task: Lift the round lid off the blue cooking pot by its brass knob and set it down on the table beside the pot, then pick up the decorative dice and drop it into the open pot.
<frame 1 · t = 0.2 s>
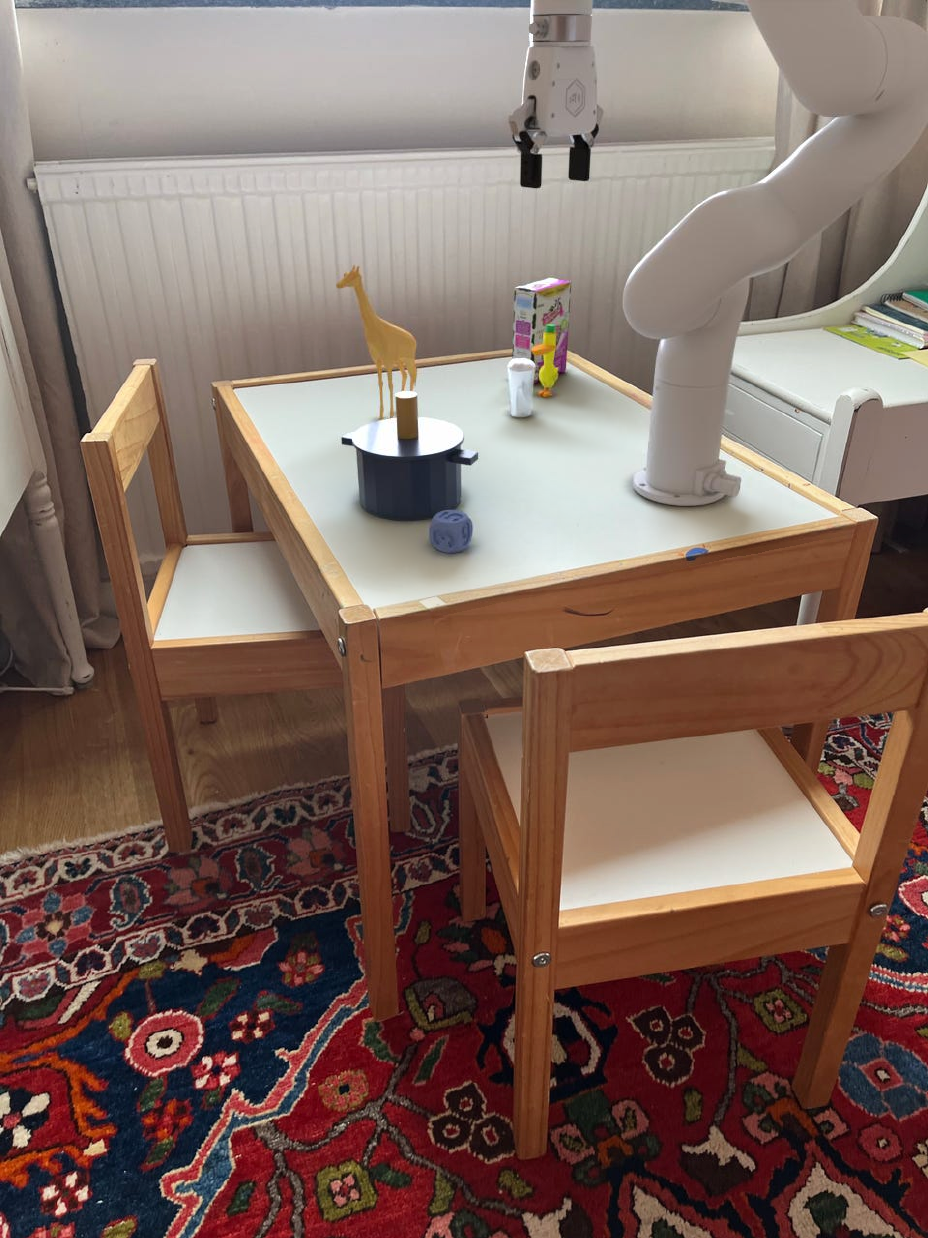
hand: (555, 183, 128), 37 cm above the table, tool pointing down, fingers open, 9 cm apart
milkshake: (522, 415, 160), on the table
toy figure: (544, 396, 168), on the table
decorative dice: (451, 547, 118), on the table
tin lid: (408, 439, 126), point 8 cm above the table, touching blue cooking pot
blue cooking pot: (410, 499, 130), on the table
giraffe: (384, 422, 157), on the table
candy bar box: (539, 376, 178), on the table
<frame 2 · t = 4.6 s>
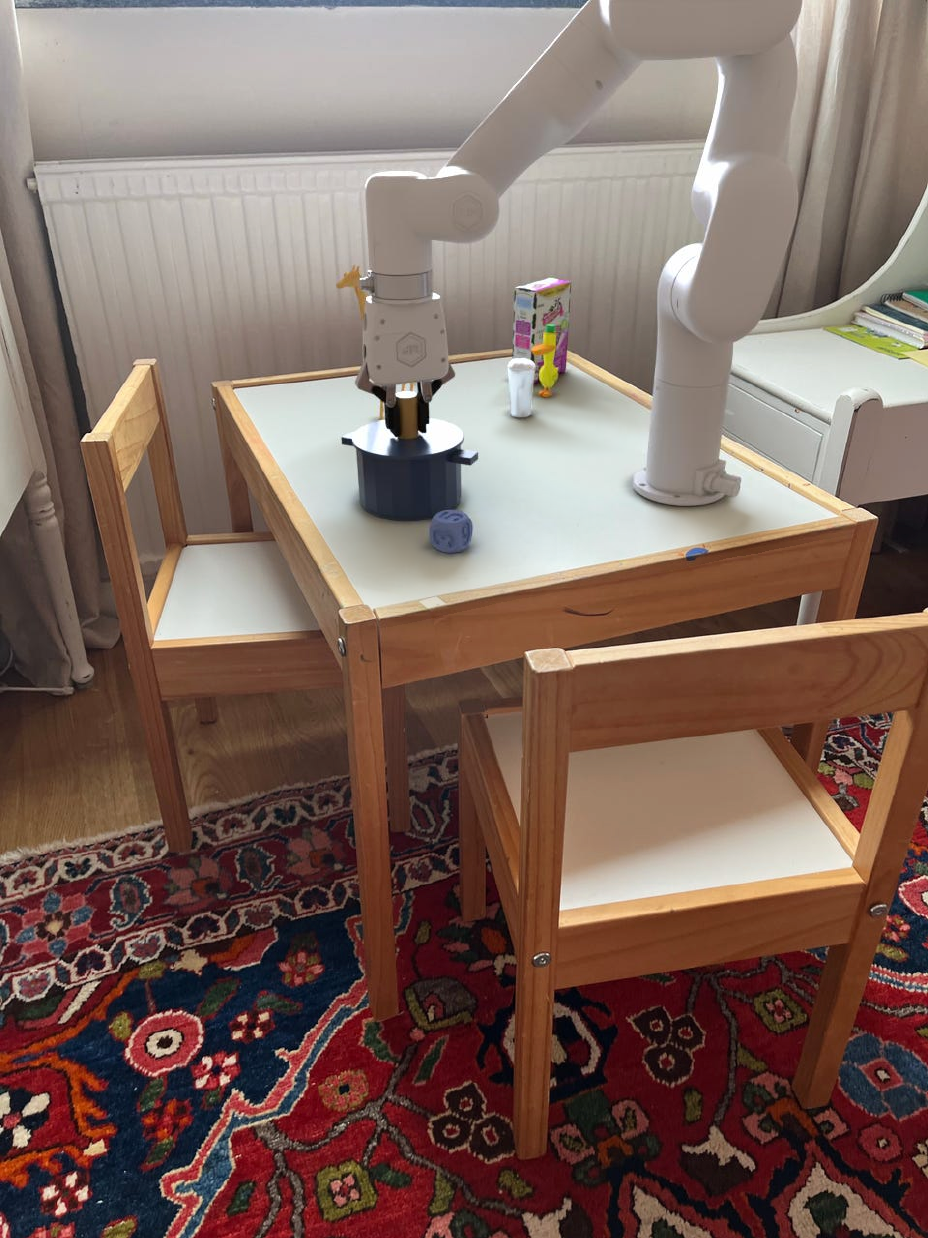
hand: (407, 430, 125), 10 cm above the table, tool pointing down, fingers closed on tin lid, 2 cm apart
tin lid: (408, 439, 126), point 9 cm above the table, touching gripper, blue cooking pot
everything else where it was.
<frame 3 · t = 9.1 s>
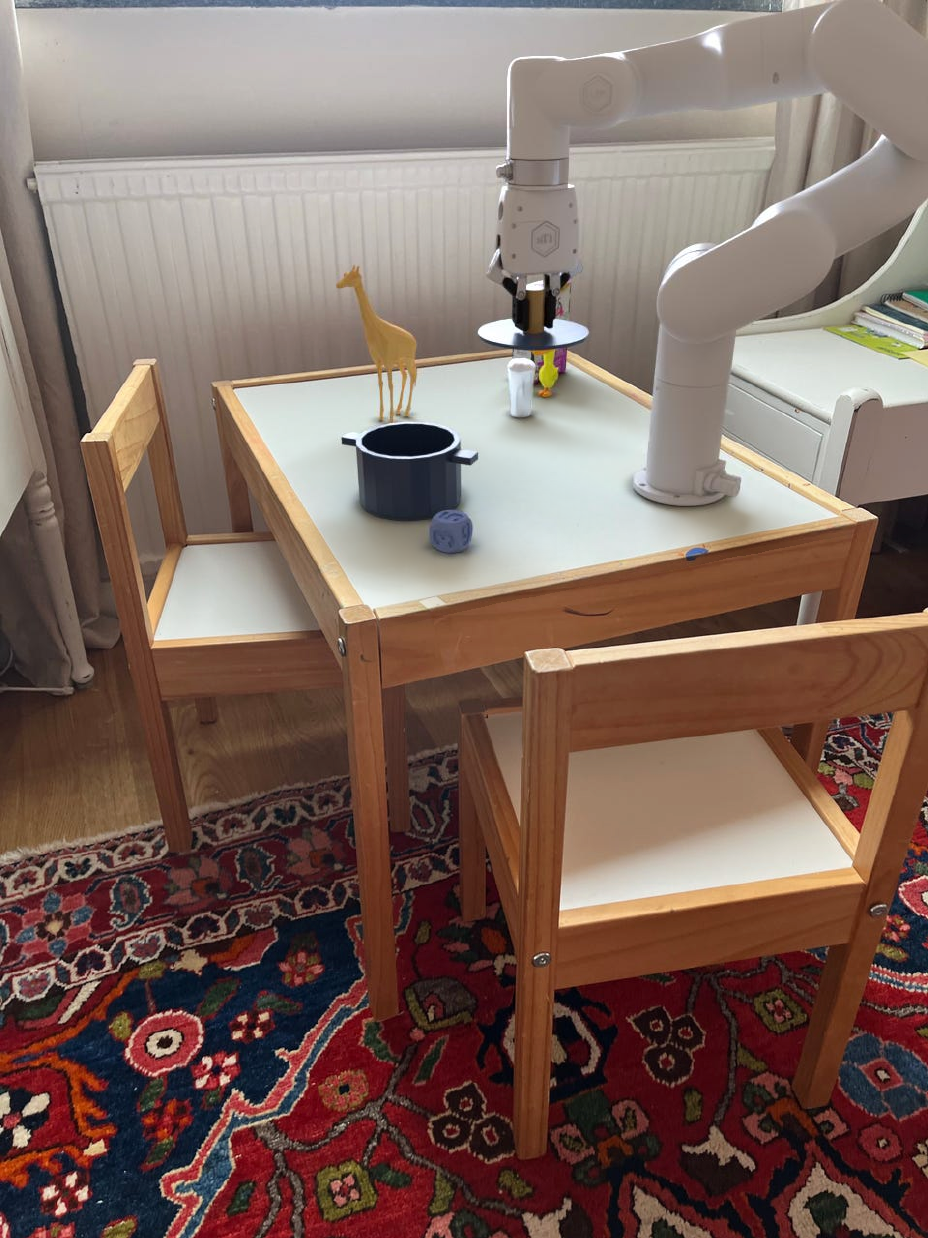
hand: (533, 325, 127), 21 cm above the table, tool pointing down, fingers closed on tin lid, 2 cm apart
tin lid: (533, 334, 127), point 20 cm above the table, touching gripper
everything else where it was.
when the fingers open (2 cm above the table, at t = 13.6 s): tin lid stays where it is, point 1 cm above the table.
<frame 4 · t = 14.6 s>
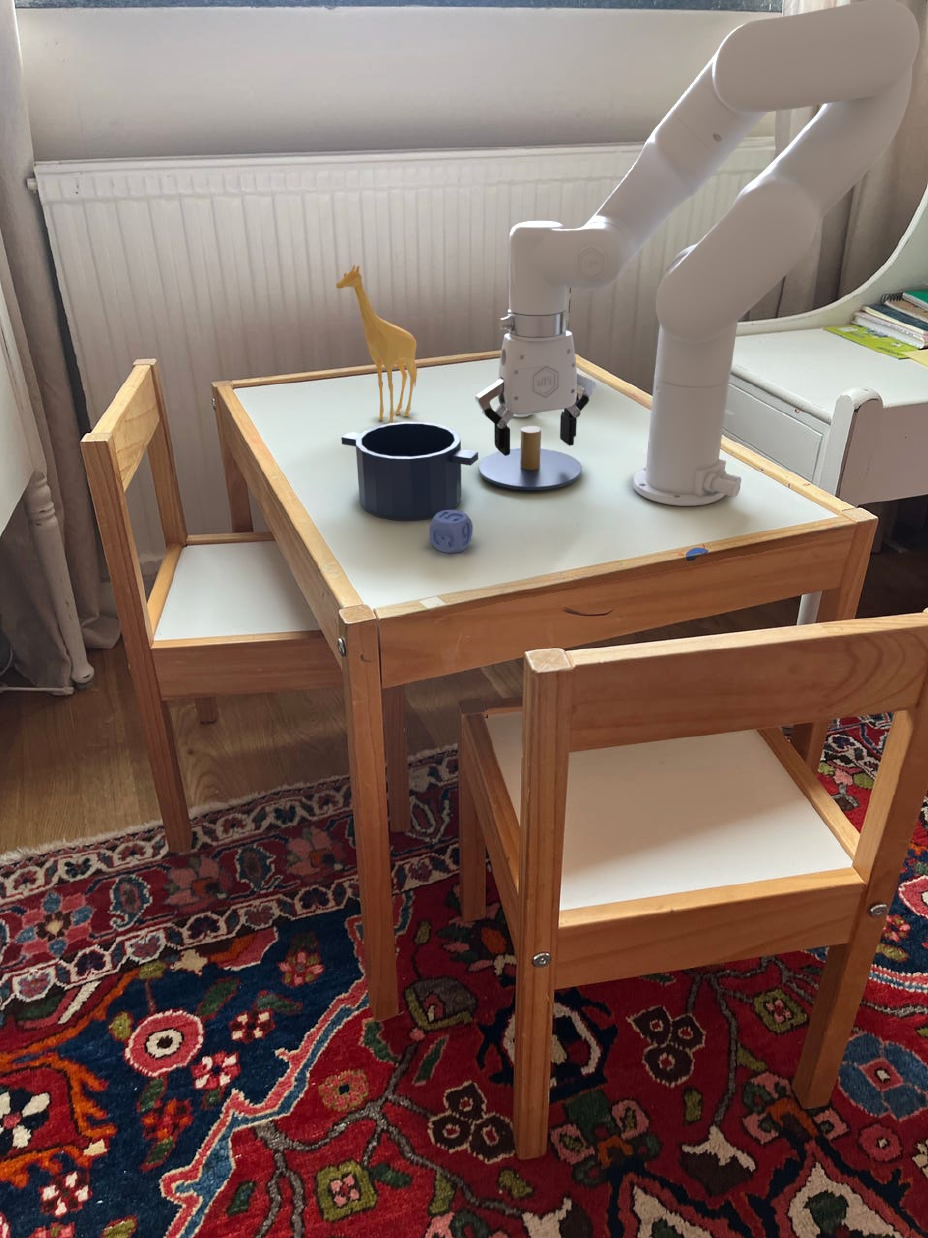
hand: (535, 447, 136), 4 cm above the table, tool pointing down, fingers open, 9 cm apart
tin lid: (530, 469, 138), point 1 cm above the table
everything else where it was.
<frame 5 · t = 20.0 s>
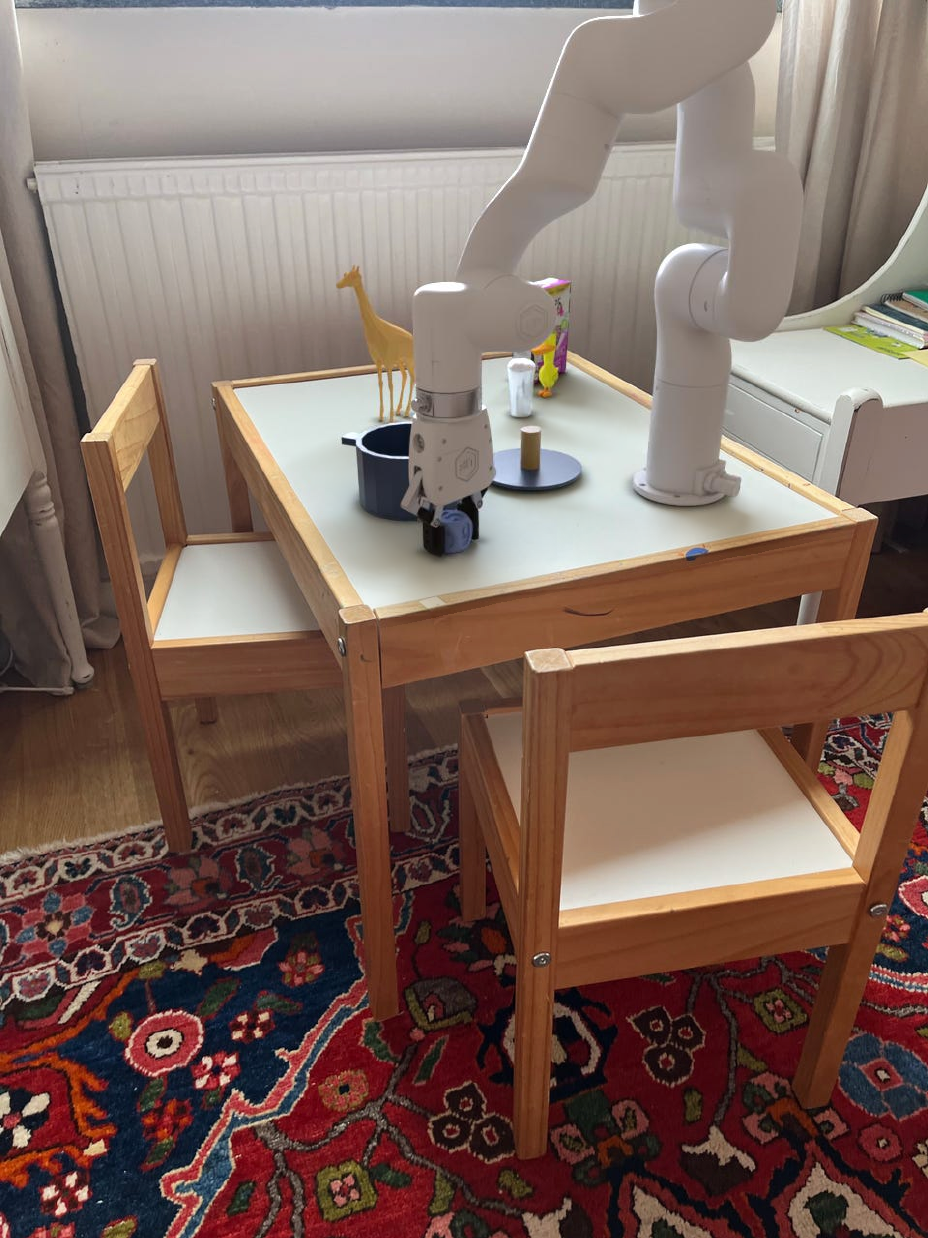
hand: (451, 542, 118), 0 cm above the table, tool pointing down, fingers closed on decorative dice, 5 cm apart
decorative dice: (451, 547, 118), on the table, touching gripper
everything else where it was.
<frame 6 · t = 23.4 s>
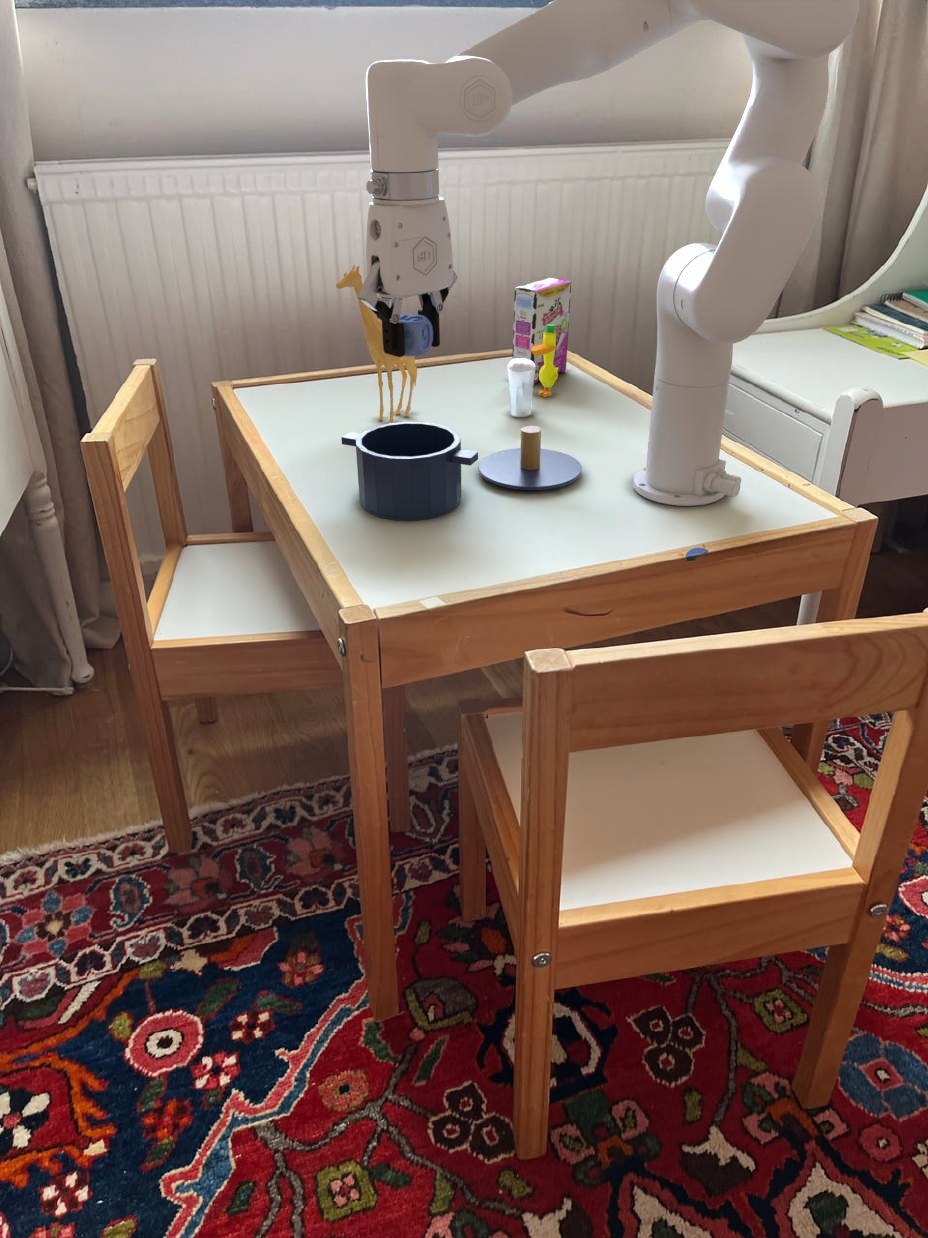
hand: (411, 347, 117), 21 cm above the table, tool pointing down, fingers closed on decorative dice, 5 cm apart
decorative dice: (412, 353, 118), point 20 cm above the table, touching gripper
everything else where it was.
when the fingers open (8 cm above the table, at t = 27.2 s): decorative dice drops 7 cm, resting on blue cooking pot.
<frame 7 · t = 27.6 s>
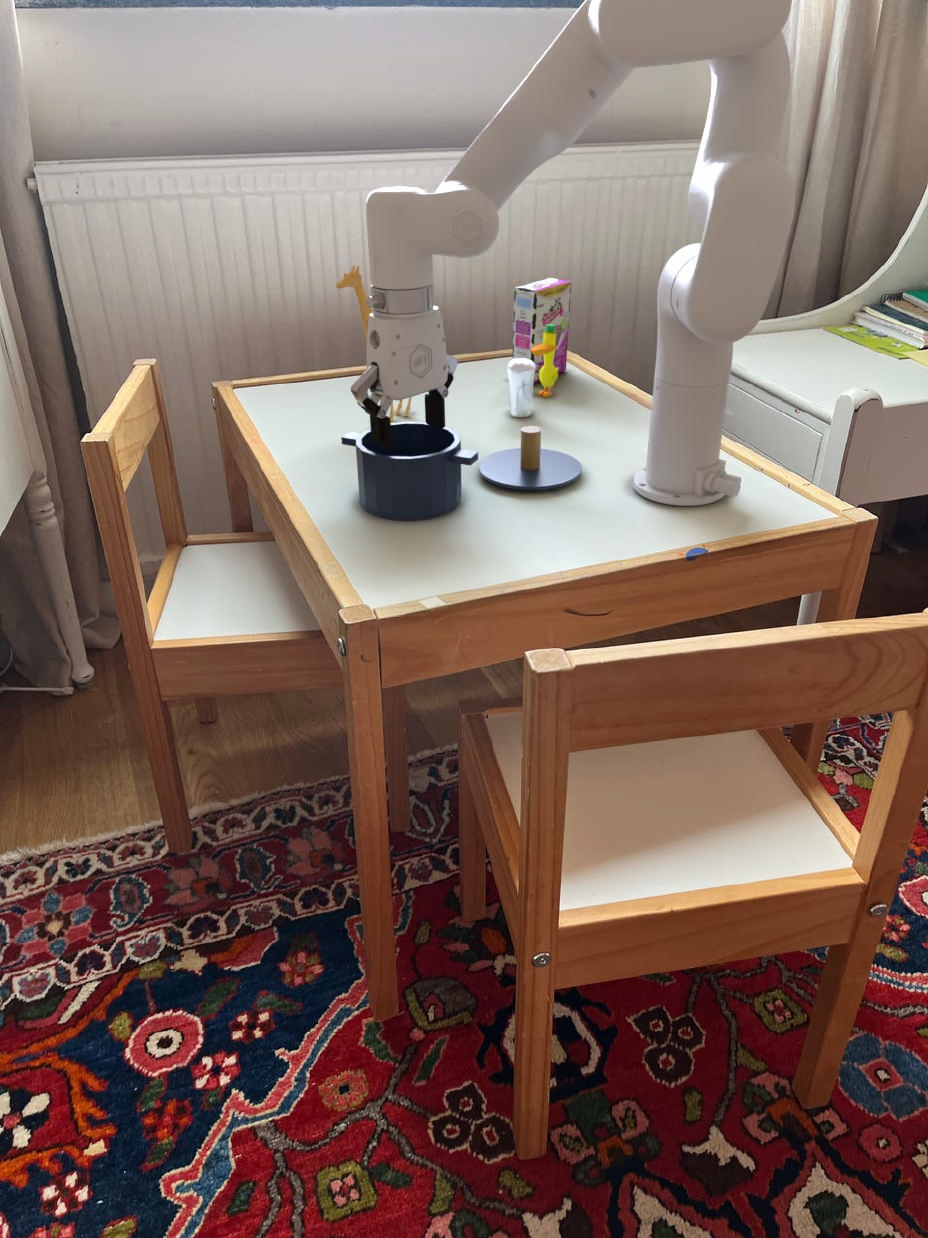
hand: (409, 434, 126), 9 cm above the table, tool pointing down, fingers open, 9 cm apart
decorative dice: (411, 497, 130), resting on blue cooking pot
everything else where it was.
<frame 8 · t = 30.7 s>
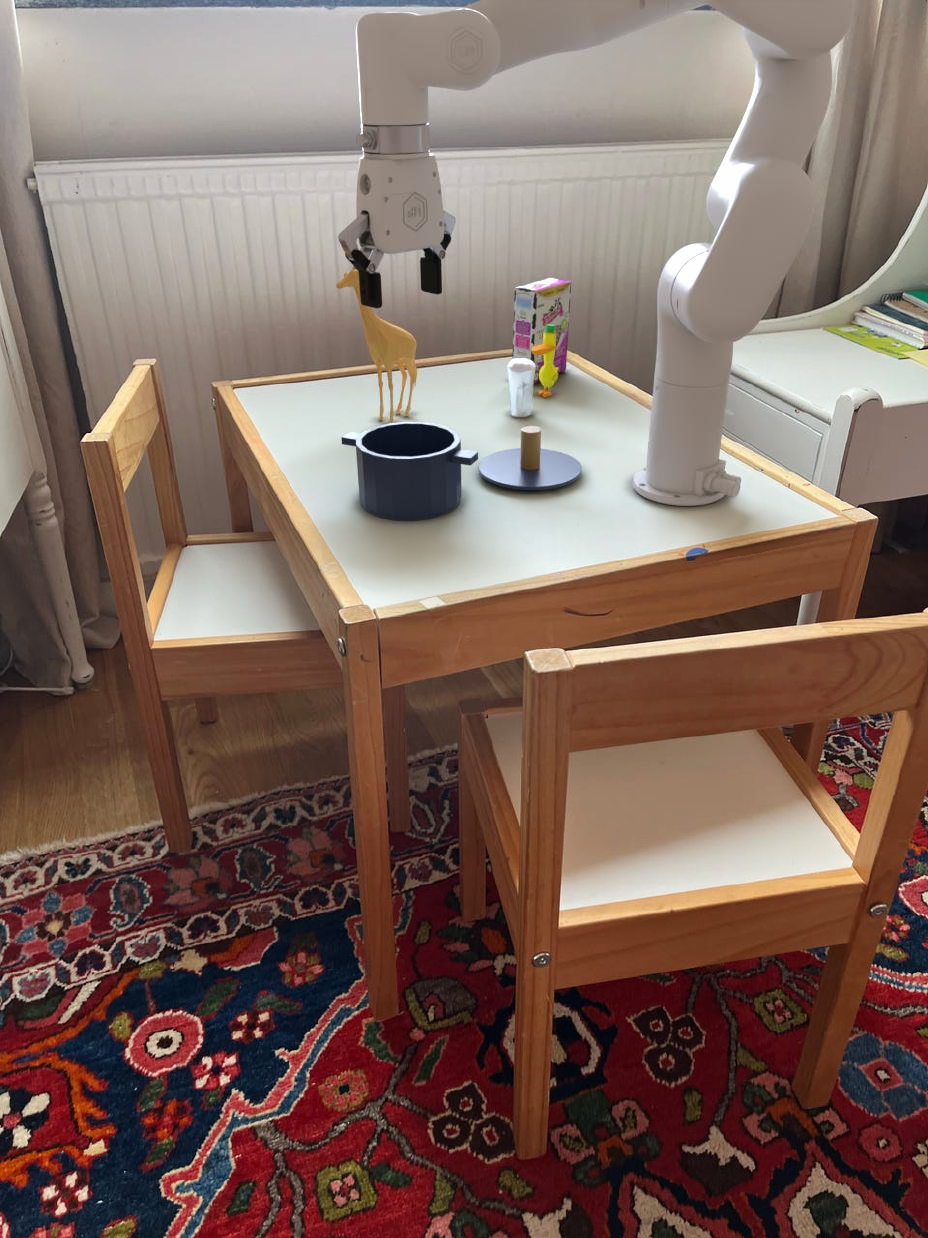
hand: (402, 299, 117), 26 cm above the table, tool pointing down, fingers open, 9 cm apart
nothing on the table moved.
at the end: tin lid inside the target area (0.4 cm from its centre), point 0.6 cm above the table; tin lid tilted 0°; decorative dice inside the target area in the blue cooking pot (0.2 cm from its centre), point 0.3 cm above the blue cooking pot's base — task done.
